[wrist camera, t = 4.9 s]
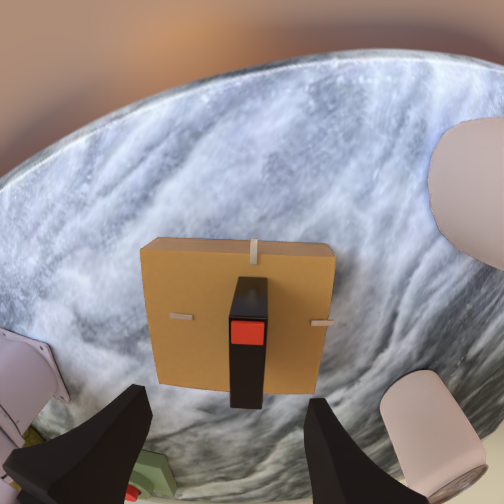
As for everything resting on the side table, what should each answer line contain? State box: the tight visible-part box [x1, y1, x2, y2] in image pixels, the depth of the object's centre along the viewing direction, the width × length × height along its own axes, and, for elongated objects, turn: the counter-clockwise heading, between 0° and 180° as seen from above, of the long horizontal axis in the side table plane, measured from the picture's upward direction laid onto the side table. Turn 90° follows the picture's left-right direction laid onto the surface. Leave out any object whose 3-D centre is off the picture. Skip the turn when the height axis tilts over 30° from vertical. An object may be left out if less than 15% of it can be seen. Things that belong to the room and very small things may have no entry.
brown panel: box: [140, 237, 337, 394], centre depth 18 cm, size 11×11×3 cm
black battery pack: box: [228, 276, 268, 409], centre depth 14 cm, size 6×2×5 cm, turn 178°
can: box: [380, 370, 488, 504], centre depth 16 cm, size 6×6×12 cm
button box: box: [129, 450, 177, 499], centre depth 25 cm, size 11×9×4 cm
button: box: [125, 484, 140, 501], centre depth 23 cm, size 4×4×2 cm
